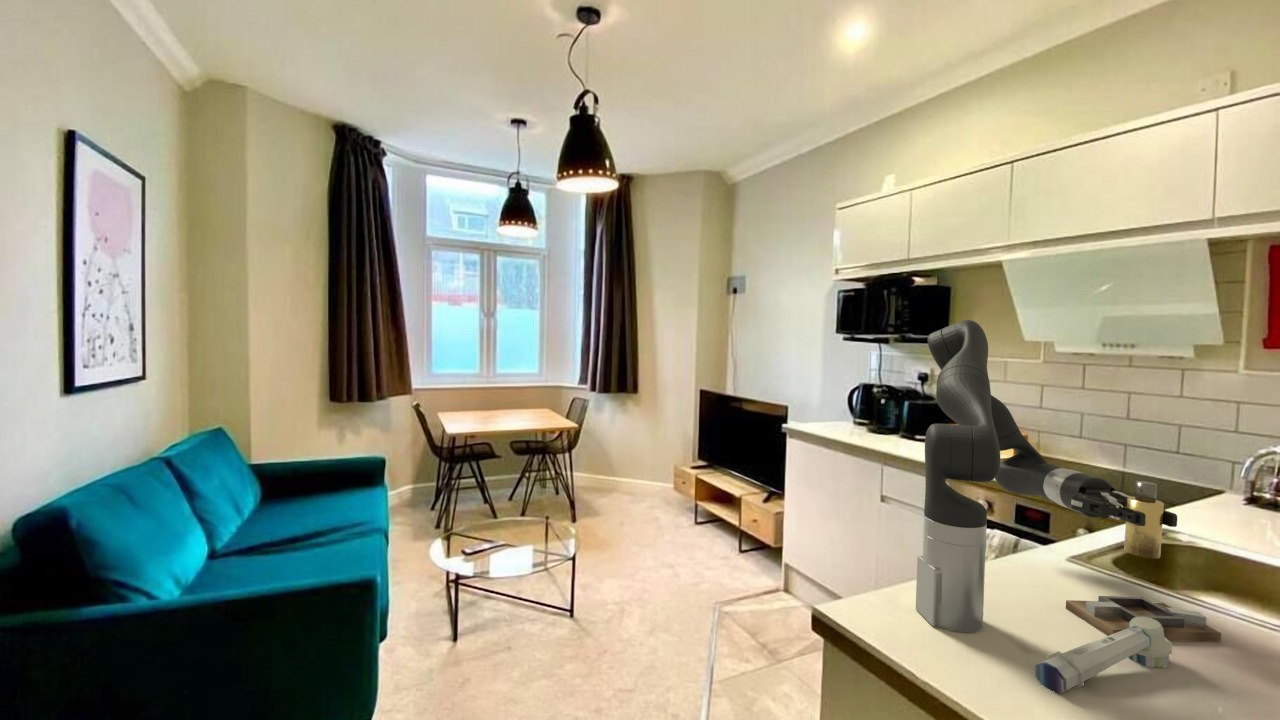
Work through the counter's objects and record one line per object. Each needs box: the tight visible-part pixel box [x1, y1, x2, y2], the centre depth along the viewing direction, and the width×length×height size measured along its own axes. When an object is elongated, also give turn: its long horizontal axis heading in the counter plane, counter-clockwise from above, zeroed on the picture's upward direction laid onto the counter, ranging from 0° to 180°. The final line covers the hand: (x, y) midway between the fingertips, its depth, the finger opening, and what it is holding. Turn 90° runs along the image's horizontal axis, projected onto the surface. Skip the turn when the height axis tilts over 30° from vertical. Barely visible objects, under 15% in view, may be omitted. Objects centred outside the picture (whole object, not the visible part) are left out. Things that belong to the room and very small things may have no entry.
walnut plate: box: [1065, 599, 1222, 643], centre depth 93 cm, size 17×10×2 cm, turn 89°
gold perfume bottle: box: [1123, 480, 1165, 560], centre depth 92 cm, size 4×4×12 cm
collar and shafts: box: [1085, 595, 1207, 628], centre depth 93 cm, size 16×8×2 cm, turn 89°
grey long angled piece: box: [1034, 617, 1173, 695], centre depth 79 cm, size 5×7×25 cm
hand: (1158, 520), depth 89 cm, fingers closed on gold perfume bottle, 4 cm apart
